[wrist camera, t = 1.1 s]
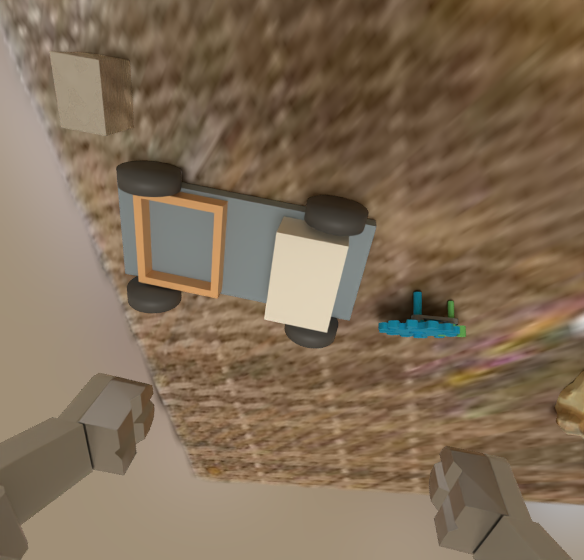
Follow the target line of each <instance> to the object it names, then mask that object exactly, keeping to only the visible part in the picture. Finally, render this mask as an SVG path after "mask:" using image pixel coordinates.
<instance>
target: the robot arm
mask: <svg viewBox="0 0 584 560" xmlns="http://www.w3.org/2000/svg"><path fill="white" fill-rule="evenodd" d="M152 395H153V387H152V385H150V384H146V383H142V382H137V381H133V380H129V379H125V378H120V377H116V376H111V375H107V374H102V373H98V374H96V375H95V376H93V377H92V378H91V380H90V381H89V382H88V383H87V384H86V385H85V387H84V388H83V389H82V390H81V391H80V393H79V394H78V395H77V396H76V397H75V398H74V400H73V401H72V402H71V403H70V404H69V405H68V407H67V408H66V409H65V410H64V412H62V414H61V415H60V416H59V417H58V418H53V417H52V418H50V419H48V420H46V421H44V422H42V423H40V424H38V425H36V426H34V427H32V428H30V429H28V430H26V431H24V432H22V433H19V434H18V435H15V436H13V437H11V438H10V439H7V440H5V441H4V442H1V443H0V560H21V558H22V557H23V555H24V554H25V552H26V551H27V549H28V542H27V539H26V537H25V535H24V533H23V530H22V528H21V526H20V525H21V524H23V523H24V522H26V521H27V520H28V519H30V518H31V517H32V516H34V515H35V514H36V513H37V512H39V511H40V510H42V509H43V508H44V507H46V506H47V505H48V504H50V503H51V502H52V501H54V500H55V499H56V498H58V497H59V496H60V495H62V494H63V493H64V492H66V491H67V490H68V489H70V488H71V487H72V486H74V485H75V484H76V483H78V482H79V481H81V480H82V479H83V478H84V477H86V476H87V475H89V474H90V473H91V472H92V471H93V470H92V469H94V470H98V471H104V472H109V473H114V474H119V475H124V474H125V473H126V471H127V469H128V467H129V466H130V464H131V462H132V460H133V458H134V457H135V455H136V444H137V443H139V442H140V441H142V440H144V439H145V437H146V435H147V433H148V432H149V430H150V427H151V424H152V421H153V418H154V404H153V403H152V402H151V401H150V398H151V397H152ZM440 458H441V462H438V463H436V464H434V466H433V468H432V470H431V473H430V479H429V493H430V499H431V502H432V503H433V505H434V506H435V507H436V509H437V510H438V513H437V514H436V516H435V518H434V521H435V526H436V532H437V537H438V543H439V546H441V547H445V548H449V549H453V550H457V551H461V552H465V553H469V554H473V558H474V559H475V560H573V559H572V558H571V557H570V556H569V555H568V554H567V553H566V552H565V551H564V550H563V549H562V548H561V547H560V546H559V544H557V542H556V541H555V540H554V539H553V538H552V537H551V536H550V535H549V534H548V533H547V532H546V531H545V530H544V528H543V527H542V526H541V525H540V524H539V523H536V522H532V519H531V517H530V515H529V512H528V510H527V507H526V505H525V502H524V500H523V497H522V495H521V492H520V490H519V487H518V485H517V482H516V480H515V477H514V475H513V472H512V470H511V468H510V465H509V463H508V461H507V460H506V459H505V458H503V457H498V456H493V455H488V454H483V453H480V452H475V451H470V450H465V449H460V448H455V447H450V446H446V447H444V448H443V449H442V451H441V453H440Z"/></svg>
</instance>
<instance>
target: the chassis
mask: <svg viewBox="0 0 584 560" xmlns="http://www.w3.org/2000/svg"><path fill="white" fill-rule="evenodd" d="M116 170H117V183H118V194H119V206H120V217H121V228H122V240H123V251H124V262H125V274H130V275H135V276H137V277H135V278H133V279H132V280H131V281H130V282H129V283H128V285H127V295H128V303H129V305H130V306H131V307H132V308H134V309H135V310H137V311H140V312H144V313H161V312H166V311H169V310H171V309H173V308H175V307H176V306H177V305H178V304H179V303H180V301H181V291H184V292H189V293H194V294H199V295H203V296H208V297H213V298H218V297H219V295H220V293H221V294H225V295H230V296H235V297H240V298H244V299H249V300H254V301H259V302H263V303H266V310H265V318H264V319H265V320H270V321H274V322H279V323H284V324H285V333H286V335H287V336H288V337H289V339H291V340H292V341H293V342H295V343H296V344H298V345H300V346H303V347H307V348H323V347H326V346H328V345H330V344H331V343H332V342H333V341H334V339H335V335H336V332H337V328H338V320H337V318H340V319H344V320H350V317H351V313H352V310H353V306H354V303H355V299H356V296H357V292H358V289H359V285H360V282H361V278H362V275H363V271H364V268H365V264H366V261H367V257H368V254H369V250H370V247H371V243H372V240H373V237H374V233H375V230H376V220H371V219H367V217H368V210H367V209H366V208H365V207H364V206H363V205H361V204H359V203H357V202H355V201H352V200H349V199H346V198H342V197H336V196H328V195H319V196H313V197H310V198H309V199H308V200H307V204H306V207H305V206H300V205H295V204H289V203H284V202H279V201H274V200H269V199H264V198H259V197H254V196H249V195H244V194H239V193H234V192H228V191H223V190H218V189H213V188H208V187H203V186H198V185H193V184H188V183H183V182H181V170H180V169H179V168H177V167H176V166H173V165H170V164H166V163H162V162H154V161H131V162H125V163H122V164H120V165H118V166H117V168H116Z"/></svg>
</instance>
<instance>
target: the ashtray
mask: <svg viewBox="0 0 584 560" xmlns="http://www.w3.org/2000/svg"><path fill="white" fill-rule="evenodd" d="M555 409H556V412H557V418H556V422H557V424H558V425H559V426H560V427H561V429H562V430H563V431H564V432H565V433H567V434H570V435H578V436H581V437H582V438H583V439H584V371H582V372H581V373H580V374H579V376H578V377H577V378H576V379H575V380H574V382H573V383H571V384H569V385H568V386H567V387H566V388H564V389H563V391H562V392H561V393H560V395H559V397H558V400H557V403H556V405H555Z"/></svg>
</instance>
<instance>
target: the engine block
mask: <svg viewBox="0 0 584 560" xmlns="http://www.w3.org/2000/svg"><path fill="white" fill-rule="evenodd" d="M49 52H50V58H51V65H52V71H53V78H54V84H55V90H56V97H57V103H58V110H59V116H60V123H61V127H62V128H67V129H73V130H78V131H83V132H88V133H94V134H99V135H104V136H108V135H111V134H114V133H118V132H121V131H124V130H128V129H131V128H134V116H133V99H132V83H131V66H130V60H125V59H120V58H114V57H109V56H103V55H98V54H92V53H87V52H59V51H49Z"/></svg>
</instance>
